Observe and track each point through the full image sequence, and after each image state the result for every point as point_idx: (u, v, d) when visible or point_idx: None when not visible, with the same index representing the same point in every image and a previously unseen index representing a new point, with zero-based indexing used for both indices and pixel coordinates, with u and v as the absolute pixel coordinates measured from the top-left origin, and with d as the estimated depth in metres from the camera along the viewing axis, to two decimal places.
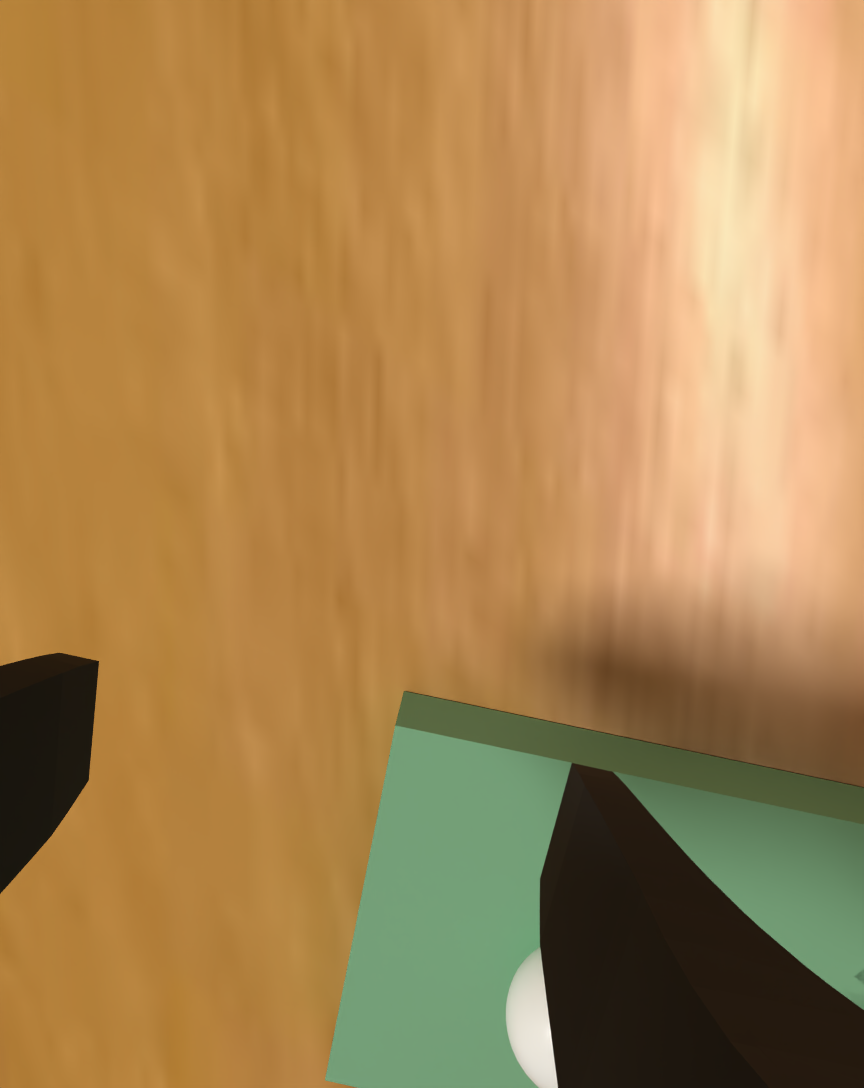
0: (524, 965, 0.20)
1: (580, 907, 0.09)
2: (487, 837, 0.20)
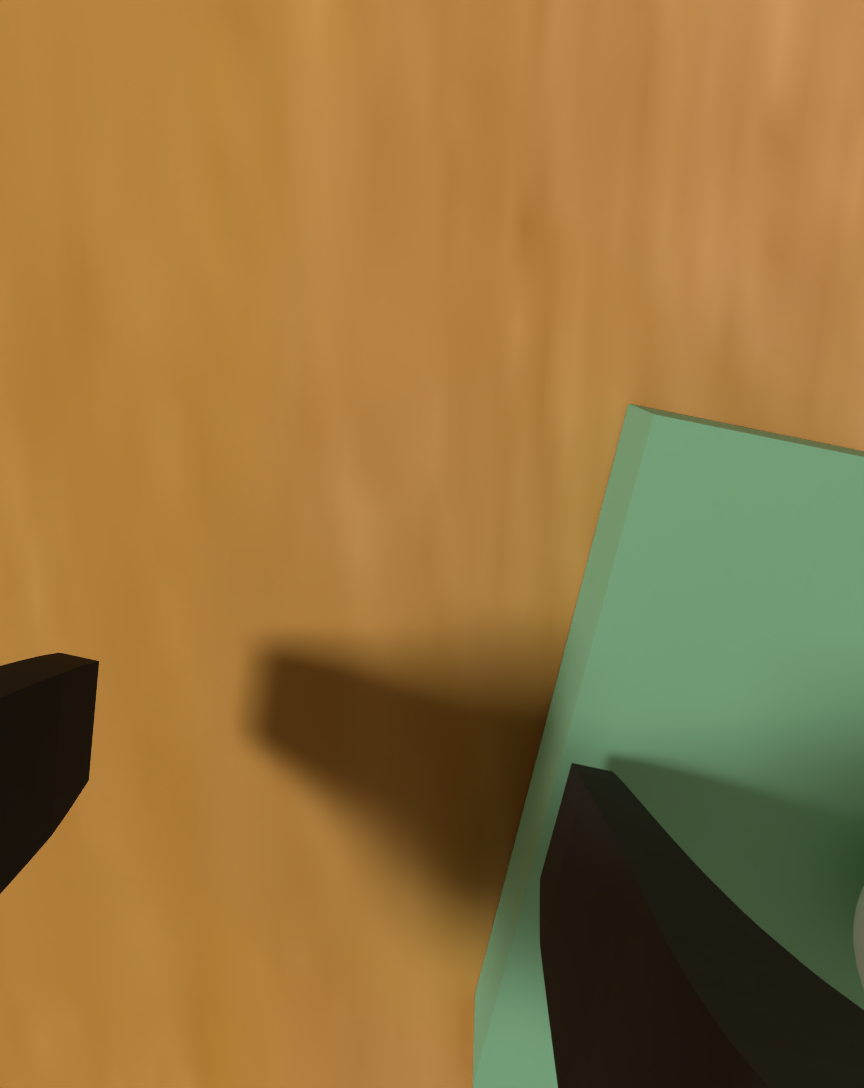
0: None
1: (580, 907, 0.09)
2: (807, 638, 0.11)
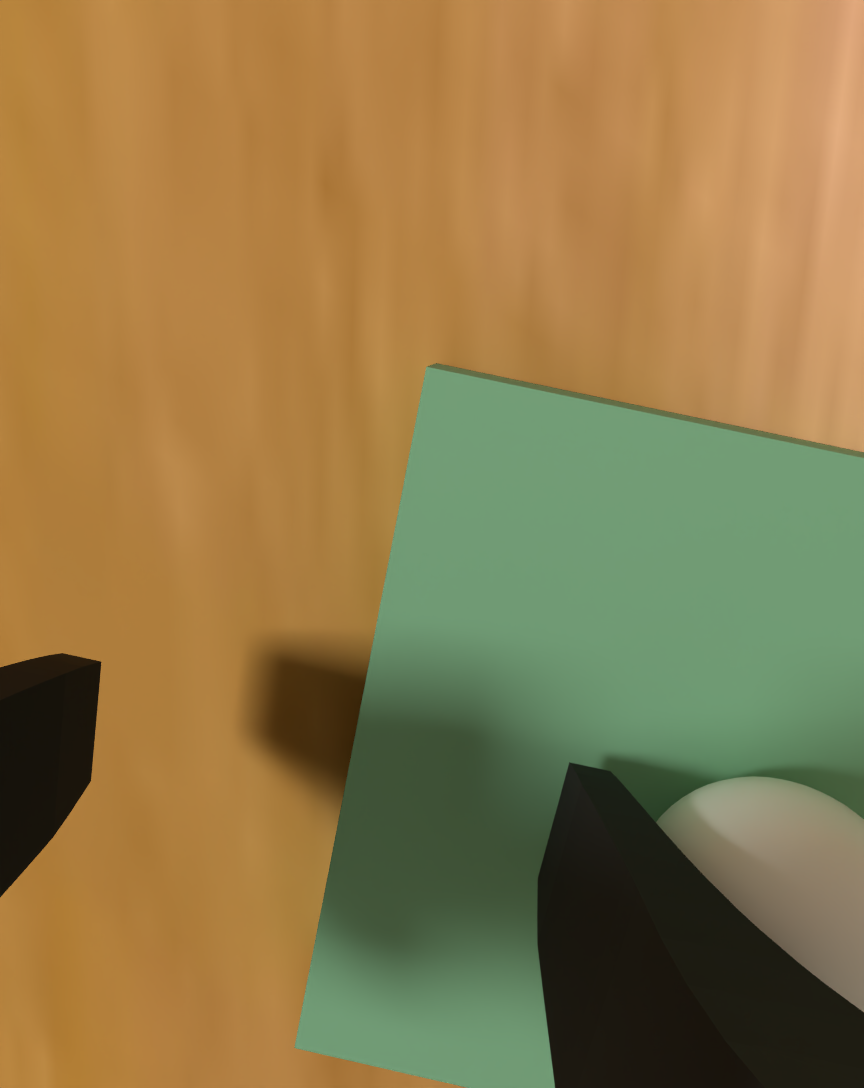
0: (667, 819, 0.10)
1: (577, 907, 0.09)
2: (591, 593, 0.11)
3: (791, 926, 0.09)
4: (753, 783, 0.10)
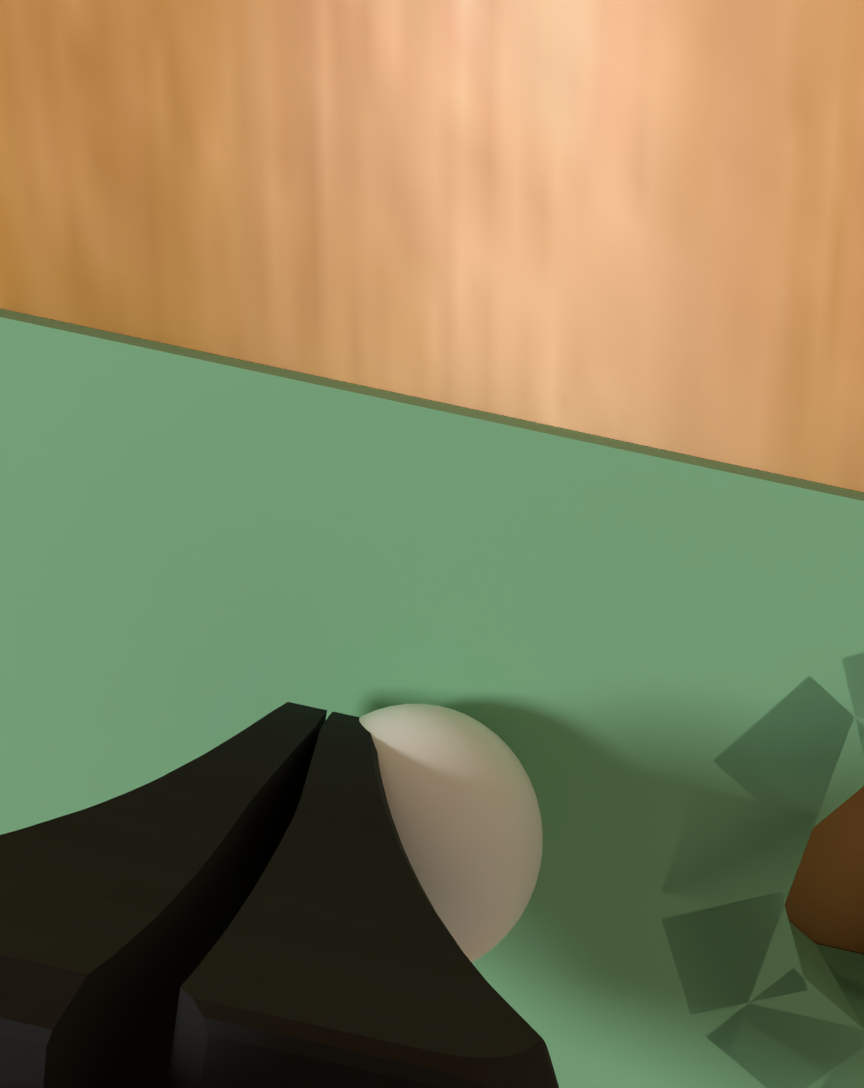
0: None
1: None
2: (90, 513, 0.12)
3: (525, 796, 0.10)
4: (391, 742, 0.10)
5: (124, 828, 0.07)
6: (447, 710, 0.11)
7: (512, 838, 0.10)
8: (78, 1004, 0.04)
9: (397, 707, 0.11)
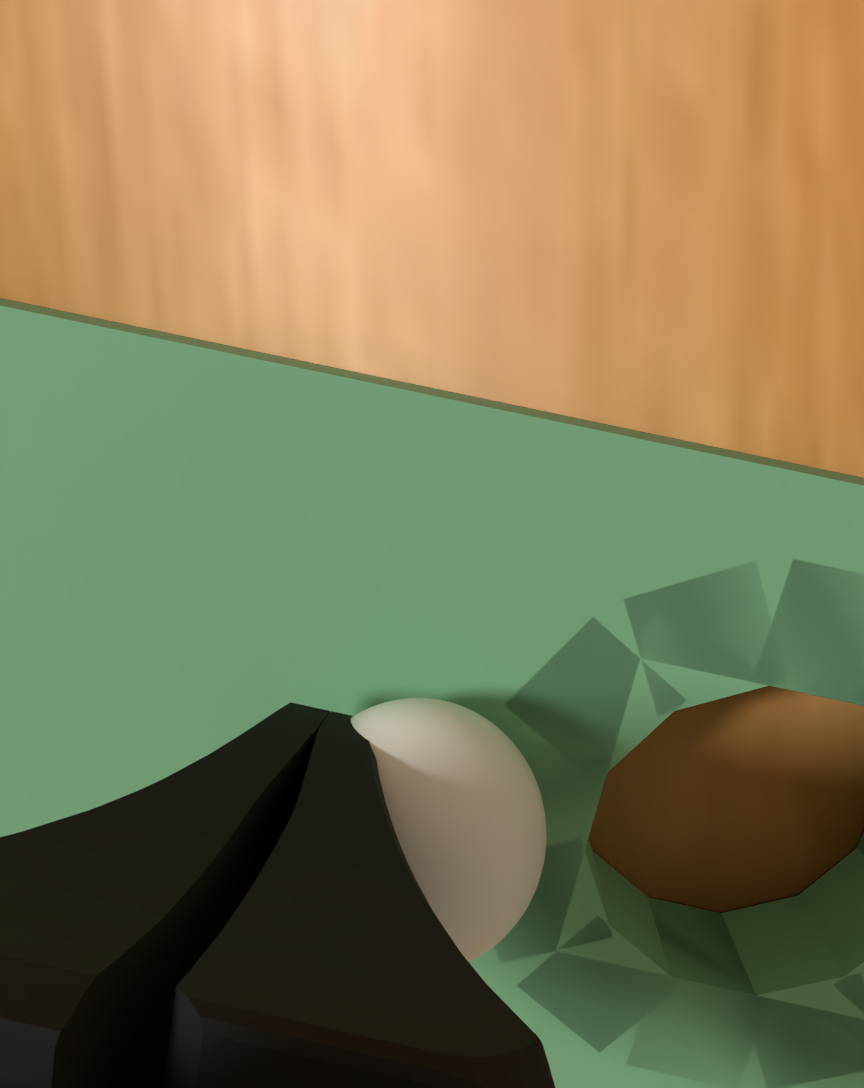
0: (539, 790, 0.11)
1: None
2: None
3: None
4: (494, 753, 0.10)
5: (129, 829, 0.07)
6: (410, 715, 0.10)
7: None
8: (86, 1006, 0.04)
9: (427, 752, 0.10)
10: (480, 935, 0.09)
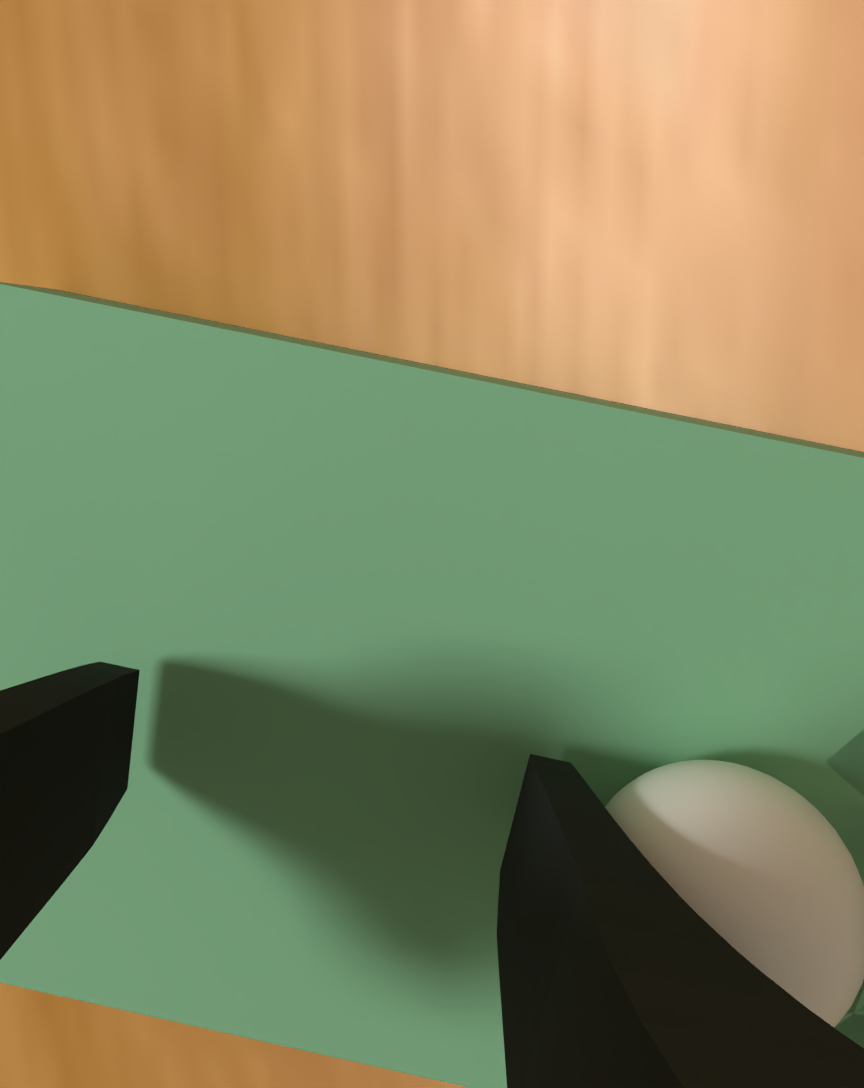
0: None
1: (530, 897, 0.09)
2: (164, 505, 0.11)
3: None
4: (813, 846, 0.09)
5: None
6: (719, 783, 0.10)
7: None
8: None
9: (733, 828, 0.09)
10: None
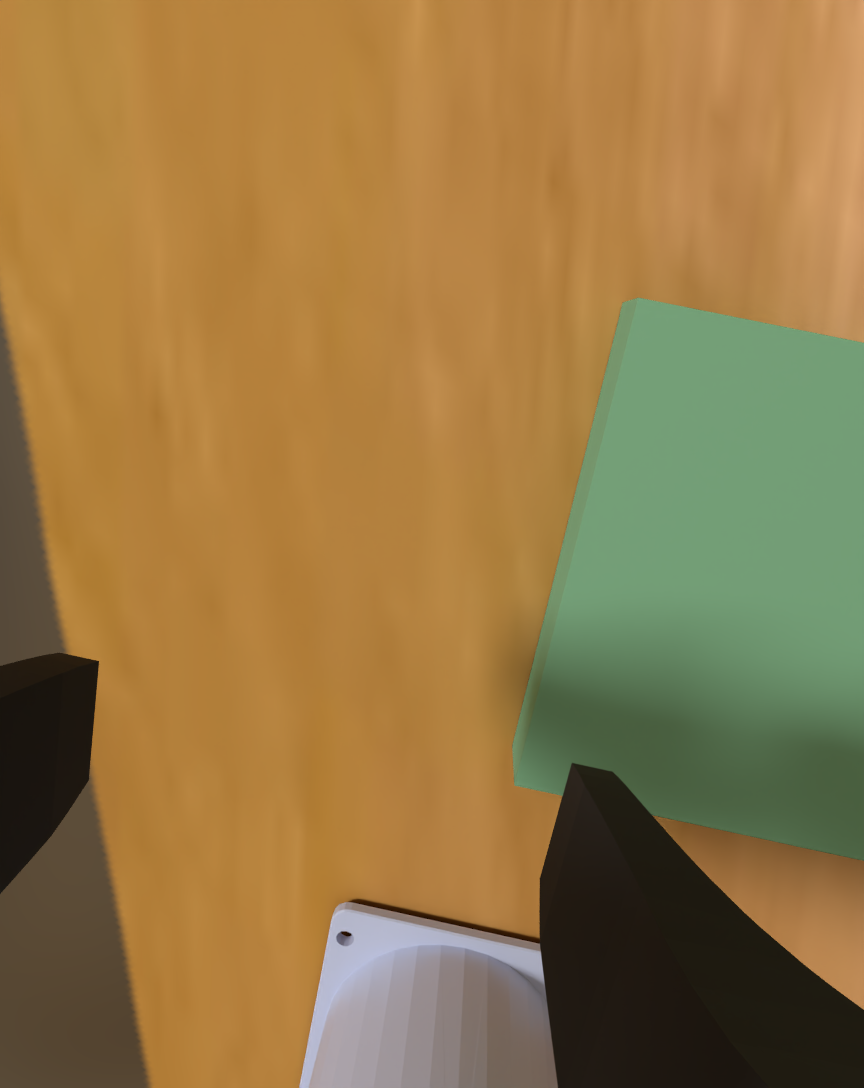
0: None
1: (580, 907, 0.09)
2: (739, 448, 0.17)
3: None
4: None
5: None
6: None
7: None
8: None
9: None
10: None
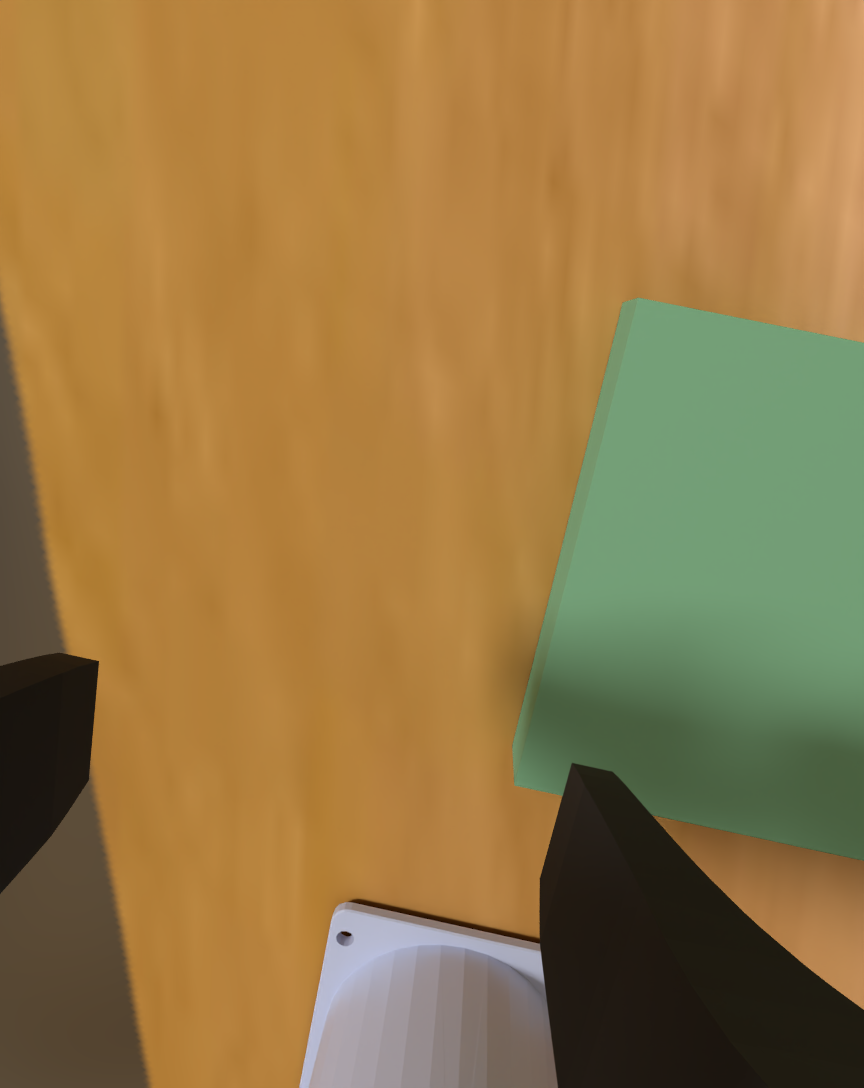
0: None
1: (580, 907, 0.09)
2: (739, 448, 0.17)
3: None
4: None
5: None
6: None
7: None
8: None
9: None
10: None
